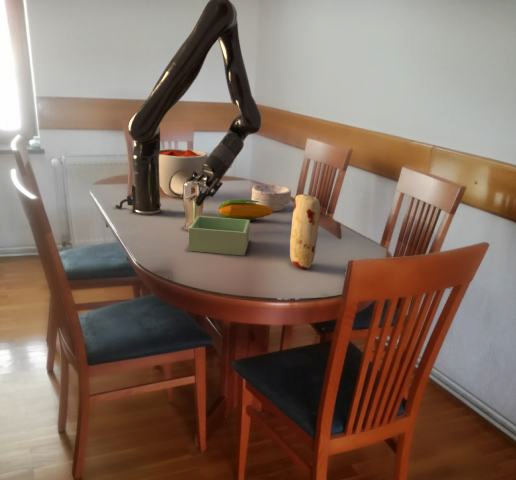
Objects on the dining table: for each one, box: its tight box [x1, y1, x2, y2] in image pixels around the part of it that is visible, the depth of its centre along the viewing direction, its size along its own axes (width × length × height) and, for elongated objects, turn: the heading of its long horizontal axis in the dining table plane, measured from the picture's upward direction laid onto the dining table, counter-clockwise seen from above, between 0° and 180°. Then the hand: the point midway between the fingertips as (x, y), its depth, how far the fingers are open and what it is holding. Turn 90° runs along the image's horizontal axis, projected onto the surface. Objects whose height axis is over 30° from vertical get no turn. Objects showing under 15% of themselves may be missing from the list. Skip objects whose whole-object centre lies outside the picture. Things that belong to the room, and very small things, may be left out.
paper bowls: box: [251, 184, 292, 212], centre depth 205 cm, size 15×15×8 cm
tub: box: [188, 215, 251, 256], centre depth 159 cm, size 17×15×7 cm
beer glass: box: [182, 181, 205, 232], centre depth 171 cm, size 7×7×15 cm
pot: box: [159, 148, 209, 199], centre depth 212 cm, size 24×24×18 cm
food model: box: [289, 193, 321, 270], centre depth 144 cm, size 10×7×20 cm
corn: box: [218, 199, 274, 222], centre depth 187 cm, size 7×8×20 cm
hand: (189, 201), depth 169 cm, fingers closed on beer glass, 7 cm apart
